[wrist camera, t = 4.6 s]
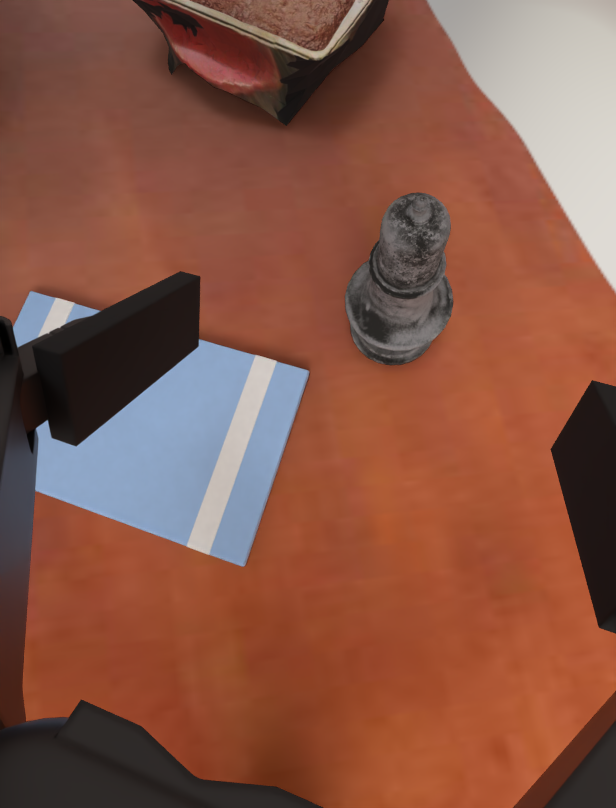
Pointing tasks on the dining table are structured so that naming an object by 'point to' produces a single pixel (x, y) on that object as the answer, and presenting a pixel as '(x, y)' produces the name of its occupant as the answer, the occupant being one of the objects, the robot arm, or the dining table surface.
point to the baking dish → (264, 44)
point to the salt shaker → (402, 283)
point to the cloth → (177, 444)
